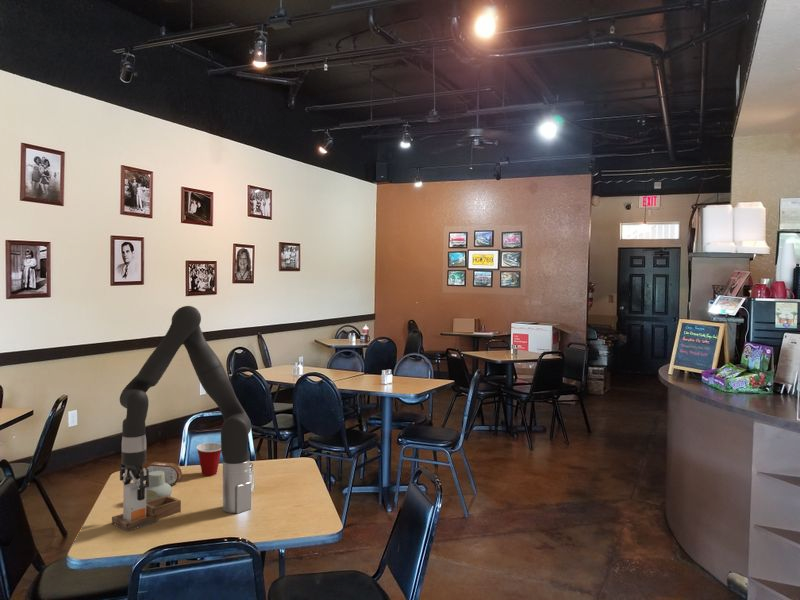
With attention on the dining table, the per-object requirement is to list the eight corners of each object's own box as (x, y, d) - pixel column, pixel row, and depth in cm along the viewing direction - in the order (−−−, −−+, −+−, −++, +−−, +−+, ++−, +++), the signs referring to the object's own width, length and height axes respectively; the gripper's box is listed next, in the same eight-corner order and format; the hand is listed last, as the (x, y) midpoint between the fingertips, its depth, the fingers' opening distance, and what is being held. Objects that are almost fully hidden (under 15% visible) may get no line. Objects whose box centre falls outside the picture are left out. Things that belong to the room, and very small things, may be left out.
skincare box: (129, 524, 196) (129, 487, 195) (122, 520, 198) (122, 485, 198) (147, 518, 200) (147, 482, 200) (140, 515, 203) (140, 480, 203)
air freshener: (135, 502, 218) (135, 475, 218) (150, 494, 226) (150, 468, 226) (162, 505, 215) (162, 477, 215) (175, 497, 223) (175, 470, 223)
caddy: (183, 512, 208) (183, 501, 208) (127, 531, 192) (127, 519, 192) (167, 506, 214) (167, 495, 214) (111, 523, 198) (111, 511, 198)
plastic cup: (202, 480, 243) (202, 450, 243) (191, 473, 251) (191, 445, 251) (227, 474, 250) (227, 446, 250) (216, 468, 258) (216, 441, 258)
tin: (182, 484, 238) (182, 463, 238) (178, 486, 235) (178, 465, 235) (147, 481, 241) (147, 461, 240) (142, 484, 237) (142, 463, 237)
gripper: (156, 449, 197) (156, 498, 198) (133, 442, 206) (133, 489, 207) (134, 455, 191) (134, 505, 192) (112, 447, 200) (112, 495, 201)
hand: (134, 497), depth 199 cm, fingers open, 8 cm apart
